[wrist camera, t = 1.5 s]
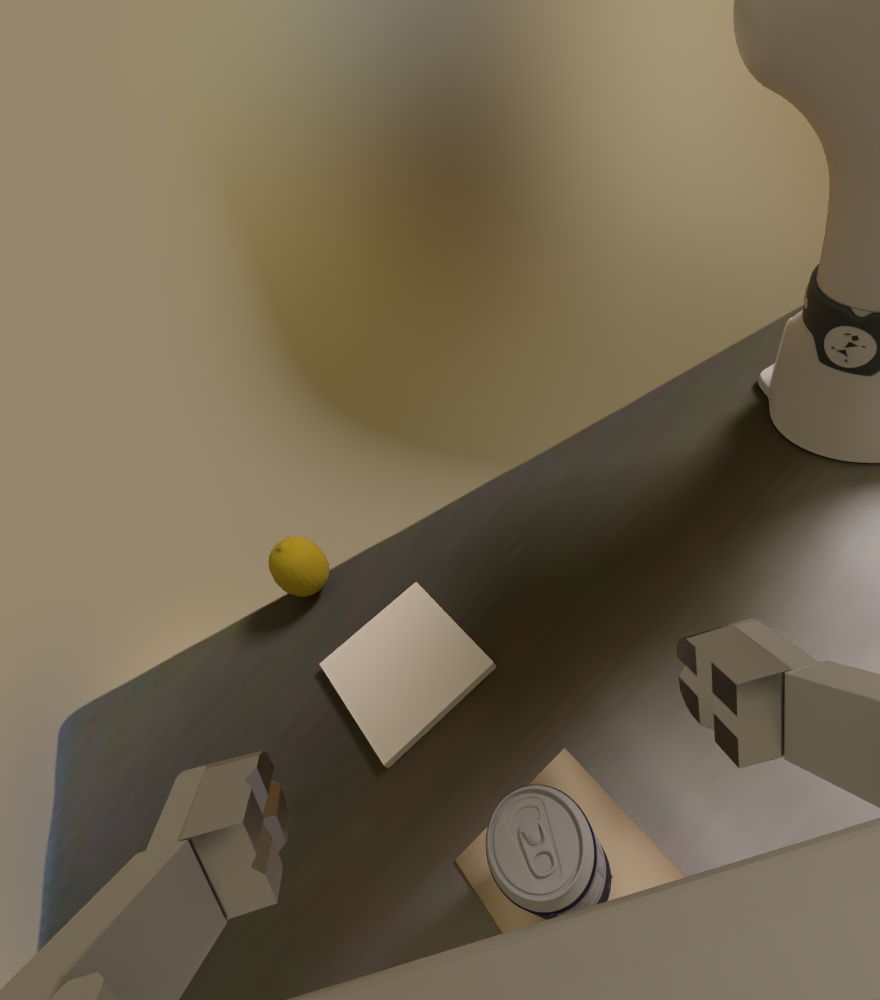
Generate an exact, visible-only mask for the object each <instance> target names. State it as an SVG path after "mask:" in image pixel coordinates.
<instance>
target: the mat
mask: <svg viewBox="0 0 880 1000" xmlns="http://www.w3.org/2000/svg"><path fill="white" fill-rule="evenodd" d="M320 666H321V667H322V669H323V670H324V672H325V674H326V675H327V677H328V678H329V680H330V681H331V683H332V685H333V686H334V688H335V689H336V691H337V693H338V694H339V696H340V697H341V699H342V700H343V702H344V704H345V705H346V707H347V708H348V710H349V711H350V713H351V715H352V716H353V718H354V719H355V721H356V722H357V724H358V726H359V727H360V729H361V730H362V732H363V734H364V735H365V737H366V738H367V740H368V741H369V743H370V745H371V746H372V748H373V749H374V751H375V752H376V754H377V756H378V757H379V759H380V760H381V762H382V763H383V765H384V766H385V767H387V768H388V769H389V768H390V767H391V766H392V765H393V764H394V763H395V762H396V761H397V760H398V759H399V758H400V757H401V756H402V755H404V754H405V753H406V752H407V751H408V750H409V749H410V748H411V747H412V746H413V745H414V744H415V743H416V742H417V741H418V740H420V739H421V738H422V737H423V736H424V735H425V734H426V733H427V732H428V731H429V730H430V729H431V728H432V727H433V726H434V725H436V724H437V723H438V722H439V721H440V720H441V719H442V718H443V717H444V716H445V715H446V714H447V713H448V712H449V711H450V710H452V709H453V708H454V707H455V706H456V705H457V704H458V703H459V702H460V701H461V700H462V699H463V698H464V697H465V696H466V695H468V694H469V693H470V692H471V691H472V690H473V689H474V688H475V687H476V686H477V685H478V684H479V683H480V682H481V681H482V680H484V679H485V678H486V677H487V676H488V675H489V674H490V673H491V672H492V671H493V670H494V669H495V668H496V666H495V664H494V662H493V661H492V660H491V659H490V658H489V657H488V656H487V655H486V654H485V653H484V652H483V651H482V650H481V649H480V648H479V647H478V646H477V645H476V643H475V642H474V641H473V640H472V639H471V638H470V637H469V636H468V635H467V634H466V633H465V632H464V631H463V630H462V629H461V628H460V627H459V626H458V625H457V624H456V623H455V622H454V621H453V620H452V618H451V617H450V616H449V615H448V614H447V613H446V612H445V611H444V610H443V609H442V608H441V607H440V606H439V605H438V604H437V603H436V602H435V601H434V600H433V599H432V598H431V597H430V596H429V595H428V593H427V592H426V591H425V590H424V589H423V588H422V587H421V586H420V585H419V584H418V583H417V582H415V583H414V584H413V585H412V586H410V587H409V588H408V589H407V590H406V591H405V592H403V593H402V594H401V595H400V596H399V597H398V598H396V599H395V600H394V601H393V602H392V603H390V604H389V605H388V606H387V607H386V608H385V609H383V610H382V611H381V612H380V613H379V614H378V615H376V616H375V617H374V618H373V619H372V620H370V621H369V622H368V623H367V624H366V625H365V626H363V627H362V628H361V629H360V630H359V631H357V632H356V633H355V634H354V635H353V636H352V637H350V638H349V639H348V640H347V641H346V642H345V643H343V644H342V645H341V646H340V647H339V648H337V649H336V650H335V651H334V652H333V653H332V654H330V655H329V656H328V657H327V658H326V659H325V660H323V661H322V662H321V663H320Z"/></svg>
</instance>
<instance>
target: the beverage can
mask: <svg viewBox="0 0 880 1000" xmlns="http://www.w3.org/2000/svg"><path fill="white" fill-rule="evenodd" d="M486 856H487V861H488V865H489V869H490V872H491V874H492V876H493V879H494V881H495V883H496V884H497V886H498V887H499V889H500V890H501V892H502V893H503V894H504V895H505V896H506V897H507V898H508V899H509V900H510V901H511V902H512V903H513V904H515V905H516V906H518V907H519V908H521V909H523V910H525V911H528V912H530V913H532V914H534V915H537V916H539V917H541V918H544V919H546V920H548V919H551V918H554V917H558V916H561V915H564V914H567V913H571V912H574V911H577V910H581V909H584V908H587V907H590V906H594V905H597V904H600V903H603V902H607V901H608V898H609V895H610V890H611V870H610V865H609V861H608V858H607V856H606V853H605V851H604V849H603V847H602V845H601V844H600V842H599V840H598V838H597V836H596V834H595V832H594V830H593V828H592V827H591V825H590V823H589V821H588V819H587V817H586V815H585V814H584V812H583V811H582V809H581V808H580V807H579V805H578V804H577V803H576V802H575V801H574V800H573V799H572V798H570V797H569V796H568V795H567V794H565V793H564V792H562V791H560V790H558V789H556V788H553V787H550V786H546V785H539V784H534V785H527V786H523V787H520V788H518V789H516V790H514V791H512V792H511V793H509V794H508V795H507V796H505V797H504V798H503V799H502V800H501V802H500V803H499V804H498V805H497V807H496V808H495V810H494V812H493V814H492V816H491V818H490V821H489V824H488V828H487V833H486Z"/></svg>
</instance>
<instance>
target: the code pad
mask: <svg viewBox="0 0 880 1000" xmlns="http://www.w3.org/2000/svg"><path fill="white" fill-rule="evenodd" d="M534 784H539V785H546V786H550V787H553V788H556V789H558V790H560V791H562V792H564V793H565V794H567V795H568V796H569V797H570V798H572V799H573V800H574V801H575V802H576V803H577V804H578V805H579V807H580V808H581V809H582V811H583V812H584V814H585V815H586V817H587V819H588V821H589V823H590V825H591V827H592V828H593V830H594V832H595V834H596V836H597V838H598V840H599V842H600V844H601V845H602V847H603V849H604V851H605V853H606V856H607V858H608V861H609V865H610V870H611V890H610V895H609V898H608V901H610V900H613V899H616V898H620V897H623V896H626V895H629V894H633V893H636V892H639V891H643V890H646V889H649V888H652V887H656V886H659V885H662V884H666V883H669V882H672V881H675V880H679V879H682V878H685V877H686V876H685V875H684V874H683V873H682V872H681V871H680V870H679V868H678V867H677V866H676V865H675V864H674V863H673V862H672V861H671V860H670V859H669V858H668V857H667V856H666V855H665V854H664V853H663V852H662V850H661V849H660V848H659V847H658V846H657V845H656V844H655V843H654V842H653V841H652V840H651V839H650V838H649V837H648V836H647V835H646V833H645V832H644V831H643V830H642V829H641V828H640V827H639V826H638V825H637V824H636V823H635V822H634V821H633V820H632V819H631V818H630V817H629V815H628V814H627V813H626V812H625V811H624V810H623V809H622V808H621V807H620V806H619V805H618V804H617V803H616V802H615V801H614V800H613V798H612V797H611V796H610V795H609V794H608V793H607V792H606V791H605V790H604V789H603V788H602V787H601V786H600V785H599V784H598V783H597V782H596V780H595V779H594V778H593V777H592V776H591V775H590V774H589V773H588V772H587V771H586V770H585V769H584V768H583V767H582V766H581V765H580V763H579V762H578V761H577V760H576V759H575V758H574V757H573V756H572V755H571V754H570V753H569V752H568V751H567V750H566V749H565V748H564V749H563V750H562V751H561V752H560V753H559V754H558V755H557V756H556V757H555V758H554V759H553V760H552V761H551V762H550V763H549V764H548V765H547V766H546V767H545V768H544V769H543V770H542V771H541V772H540V773H539V774H538V775H537V776H536V778H535V779H534V780H533V781H532V782H531V783H530V784H529V785H534ZM487 828H488V827H487ZM487 828H486V829H485V830H484V831H483V832H482V833H481V834H480V835H479V836H478V837H477V838H476V839H475V840H474V841H473V842H472V843H471V844H470V845H469V846H468V847H467V848H466V849H465V850H464V851H463V852H462V853H461V854H460V855H459V856H458V857H457V858H456V859H455V861H456V863H457V864H458V866H459V867H460V869H461V870H462V872H463V873H464V875H465V876H466V878H467V880H468V881H469V883H470V884H471V886H472V887H473V889H474V890H475V892H476V893H477V895H478V896H479V898H480V900H481V901H482V903H483V904H484V906H485V907H486V909H487V910H488V912H489V913H490V915H491V916H492V918H493V920H494V921H495V923H496V924H497V926H498V927H499V929H500V930H501V932H502V933H505V932H509V931H512V930H515V929H518V928H522V927H525V926H528V925H532V924H535V923H538V922H541V921H545V920H546V919H544V918H541V917H539V916H537V915H534V914H532V913H530V912H528V911H525V910H523V909H521V908H519V907H518V906H516V905H515V904H513V903H512V902H511V901H510V900H509V899H508V898H507V897H506V896H505V895H504V894H503V893H502V892H501V890H500V889H499V887H498V886H497V884H496V883H495V881H494V879H493V876H492V874H491V872H490V869H489V865H488V861H487V856H486V833H487Z"/></svg>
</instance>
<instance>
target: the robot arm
mask: <svg viewBox="0 0 880 1000" xmlns="http://www.w3.org/2000/svg"><path fill="white" fill-rule="evenodd" d="M733 15H734V17H733V18H734V31H735V37H736V43H737V46H738V49H739V53H740V55H741V57H742V59H743V62H744V64H745V65H746V67H747V68H748V70H749V72H750V73H751V74H752V75H753V76H754V78H755V79H756V80H757V81H758V82H759V83H761V84H762V85H763V86H764V87H766V88H768V89H770V90H772V91H773V92H775V93H777V94H779V95H781V96H782V97H783V98H785V99H786V100H787V101H789V102H790V103H792V104H793V105H794V106H795V107H796V108H797V109H798V110H799V111H800V112H801V113H802V114H803V115H804V117H805V118H806V119H807V121H808V122H809V123H810V124H811V126H812V127H813V129H814V131H815V133H816V134H817V135H818V138H819V140H820V142H821V144H822V146H823V149H824V153H825V155H826V160H827V164H828V170H829V187H830V188H829V203H828V213H827V221H826V228H825V235H824V241H823V247H822V252H821V257H820V262H819V264H818V265H817V267H816V268H815V269H814V271H813V272H812V275H811V278H810V281H809V283H808V286H807V288H806V292H805V296H804V307H803V310H802V311H801V312H799V313H798V314H796V315H795V316H794V317H792V318H790V319H789V320H788V321H787V323H786V326H785V329H784V332H783V336H782V339H781V343H780V347H779V350H778V354H777V358H776V361H775V364H773V365H771V366H770V367H768V368H766V369H765V370H763V371H762V372H761V373H760V376H759V379H758V385H759V386H760V388H761V389H762V391H763V392H764V393H765V394H766V395H767V397H768V399H769V410H770V416H771V419H772V421H773V423H774V425H775V426H776V428H777V429H778V430H779V431H780V432H781V433H782V434H783V435H784V436H785V437H786V438H787V439H789V440H790V441H791V442H793V443H795V444H796V445H798V446H800V447H802V448H804V449H806V450H808V451H810V452H813V453H816V454H818V455H821V456H825V457H828V458H832V459H837V460H843V461H850V462H860V463H880V0H734V13H733ZM677 657H678V658H679V659H680V660H681V661H682V662H683V663H684V664H685V666H684V668H683V670H682V671H681V673H680V675H679V682H680V690H681V693H682V696H683V699H684V701H685V704H686V706H687V708H688V709H689V711H690V712H691V714H692V715H693V717H694V718H695V719H696V720H697V721H698V722H699V724H700V725H703V726H705V727H708V728H710V729H713V730H714V731H715V742H716V743H717V744H718V745H719V746H720V747H721V749H722V750H723V751H724V752H725V753H726V754H727V755H728V756H729V758H730V759H731V760H732V761H733V762H734V763H735V764H736V765H737V766H738V768H742V767H746V766H750V765H754V764H758V763H762V762H766V761H769V760H773V759H777V758H781V757H784V759H785V760H787V761H789V762H791V763H793V764H795V765H797V766H799V767H801V768H803V769H805V770H807V771H809V772H811V773H813V774H814V775H816V776H818V777H820V778H822V779H824V780H826V781H828V782H830V783H832V784H834V785H836V786H838V787H840V788H842V789H844V790H846V791H848V792H850V793H852V794H854V795H856V796H858V797H860V798H862V799H863V800H865V801H867V802H869V803H871V804H873V805H875V806H877V807H879V808H880V674H876V673H872V672H868V671H864V670H861V669H857V668H853V667H849V666H845V665H841V664H838V663H834V662H830V661H824V662H820V663H819V662H817V661H816V660H815V659H813V658H812V657H810V656H809V655H807V654H806V653H805V652H803V651H802V650H800V649H799V648H797V647H796V646H795V645H793V644H792V643H790V642H789V641H787V640H786V639H785V638H783V637H782V636H780V635H779V634H777V633H776V632H775V631H773V630H772V629H770V628H769V627H767V626H766V625H765V624H763V623H762V622H760V621H759V620H757V619H753V618H748V619H745V620H742V621H738V622H735V623H732V624H728V625H726V626H724V627H720V628H717V629H713V630H710V631H706V632H702V633H699V634H695V635H691V636H688V637H684V638H681V639H679V641H678V644H677ZM273 769H274V766H273V764H272V762H271V759H270V757H269V755H268V753H266V752H264V751H261V752H257V753H253V754H249V755H245V756H240V757H236V758H232V759H228V760H224V761H220V762H216V763H212V764H210V765H205V766H201V767H197V768H194V769H190V770H186V771H183V772H182V773H181V774H180V775H178V776H177V778H176V780H175V783H174V785H173V787H172V790H171V792H170V795H169V797H168V799H167V802H166V804H165V806H164V809H163V811H162V813H161V816H160V818H159V820H158V823H157V825H156V828H155V830H154V832H153V835H152V837H151V839H150V842H149V844H148V846H147V849H146V851H144V852H141V853H137V854H136V855H135V856H134V857H133V858H132V859H131V860H130V861H129V862H128V863H127V864H126V865H125V866H124V867H123V868H122V869H121V870H120V871H119V872H118V873H117V874H116V875H115V876H114V877H113V878H112V879H111V880H110V881H109V882H108V883H107V884H106V885H105V886H104V887H103V888H102V889H101V890H100V891H99V892H98V893H97V894H96V895H95V896H94V897H93V898H92V899H91V900H90V901H89V902H88V903H87V904H86V905H85V906H84V907H83V908H82V909H81V910H80V911H79V912H78V913H77V914H76V915H75V916H74V917H73V918H72V919H71V920H70V921H69V922H68V923H67V924H66V925H65V926H64V927H63V928H62V929H61V930H60V931H59V932H58V933H57V934H56V935H55V936H54V937H53V938H52V939H51V940H50V941H49V942H48V943H47V944H46V945H45V946H44V947H43V948H42V949H41V950H40V951H39V952H38V953H37V954H36V955H35V956H34V957H33V958H32V959H31V960H30V961H29V962H28V963H27V964H26V965H25V966H24V967H23V968H22V969H21V970H20V971H19V972H18V973H17V974H16V975H15V976H14V977H13V978H12V979H11V980H10V981H9V982H8V983H7V984H6V985H5V986H4V987H3V988H2V989H1V990H0V1000H179V999H180V997H181V996H182V994H183V992H184V991H185V989H186V988H187V986H188V984H189V983H190V981H191V980H192V978H193V976H194V975H195V973H196V972H197V970H198V968H199V967H200V965H201V964H202V962H203V960H204V959H205V957H206V956H207V954H208V952H209V951H210V949H211V948H212V946H213V944H214V943H215V941H216V940H217V938H218V936H219V935H220V933H221V932H222V930H223V928H224V927H225V925H226V924H227V921H226V920H227V919H230V918H233V917H236V916H239V915H242V914H246V913H249V912H252V911H255V910H258V909H261V908H264V907H267V906H270V905H273V904H276V903H277V901H278V895H279V888H280V882H281V875H282V869H283V864H282V862H281V859H280V857H279V854H278V852H279V851H280V850H281V848H282V847H283V846H284V844H285V843H286V841H287V834H288V808H287V804H286V799H285V795H284V792H283V790H282V787H281V785H279V784H277V783H276V782H274V781H272V780H271V779H272V774H273ZM287 1000H880V818H878V819H875V820H872V821H868V822H865V823H862V824H859V825H855V826H852V827H849V828H845V829H842V830H839V831H836V832H832V833H829V834H826V835H823V836H819V837H816V838H813V839H810V840H806V841H803V842H800V843H796V844H793V845H790V846H787V847H783V848H780V849H777V850H774V851H770V852H767V853H764V854H760V855H757V856H754V857H751V858H747V859H744V860H741V861H738V862H734V863H731V864H728V865H724V866H721V867H718V868H715V869H711V870H708V871H705V872H702V873H698V874H695V875H692V876H688V877H685V878H682V879H679V880H675V881H672V882H669V883H666V884H662V885H659V886H656V887H652V888H649V889H646V890H643V891H639V892H636V893H633V894H629V895H626V896H623V897H620V898H616V899H613V900H610V901H607V902H603V903H600V904H597V905H594V906H590V907H587V908H584V909H581V910H577V911H574V912H571V913H567V914H564V915H561V916H558V917H554V918H551V919H548V920H545V921H541V922H538V923H535V924H532V925H528V926H525V927H522V928H518V929H515V930H512V931H509V932H505V933H502V934H499V935H496V936H492V937H489V938H486V939H483V940H479V941H476V942H473V943H469V944H466V945H463V946H460V947H456V948H453V949H450V950H447V951H443V952H440V953H437V954H434V955H430V956H427V957H424V958H420V959H417V960H414V961H411V962H407V963H404V964H401V965H398V966H394V967H391V968H388V969H385V970H381V971H378V972H375V973H371V974H368V975H365V976H362V977H358V978H355V979H352V980H349V981H345V982H342V983H339V984H336V985H332V986H329V987H326V988H322V989H319V990H316V991H313V992H309V993H306V994H303V995H300V996H296V997H293V998H290V999H287Z"/></svg>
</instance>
